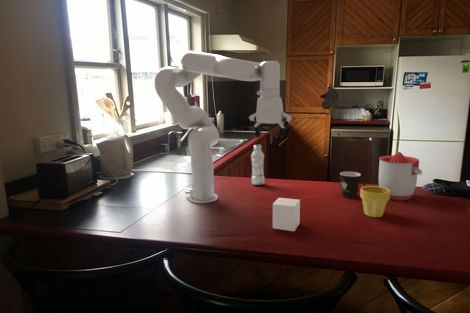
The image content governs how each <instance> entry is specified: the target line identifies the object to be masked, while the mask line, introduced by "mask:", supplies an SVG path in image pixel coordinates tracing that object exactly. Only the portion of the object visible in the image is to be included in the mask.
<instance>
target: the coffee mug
mask: <svg viewBox="0 0 470 313" xmlns="http://www.w3.org/2000/svg"><path fill="white" fill-rule="evenodd" d="M339 175H340V176H339V177H340V188H341V196H342V197H343V198H346V199H356V198H358V194H359V193H358V192H360V190H361V188H360V182H362V183H363V186H362V187H364V186H366V181H365V180H363V179H361V176H362V174H361V173H359V172H356V171H343V172H340V173H339ZM359 188H360V189H359Z"/></svg>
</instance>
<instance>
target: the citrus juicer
mask: <svg viewBox="0 0 470 313" xmlns="http://www.w3.org/2000/svg"><path fill="white" fill-rule="evenodd" d="M378 160H379V165H378V187H383V188H387V189H389V190H390V198H389V200H395V201H399V202H403V201H407V200H411V199H412V197H413V195H414V193H415V190H416V186H417V181H418V175H419V176H421V175H423V170H422V169H420V168H419V167H420V159H418V158H416V157H413V156H405V155H404V154H403V153H402V152H400V151H397V152H396V153H395V154H393V155H382V156H379V157H378Z"/></svg>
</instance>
